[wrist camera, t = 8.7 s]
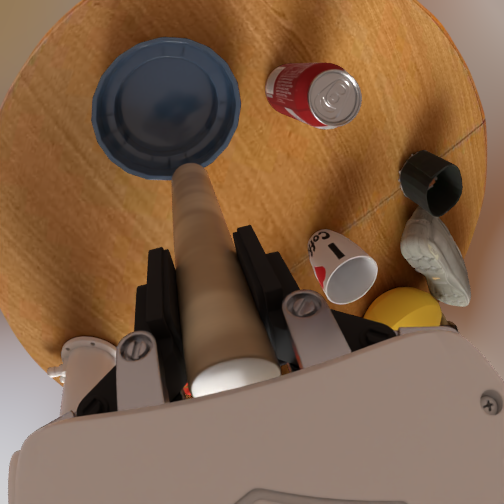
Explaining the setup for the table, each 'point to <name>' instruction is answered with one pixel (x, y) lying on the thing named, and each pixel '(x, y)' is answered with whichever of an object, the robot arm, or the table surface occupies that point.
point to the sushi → (431, 182)
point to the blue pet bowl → (165, 107)
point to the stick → (214, 294)
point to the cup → (341, 266)
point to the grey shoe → (436, 257)
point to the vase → (405, 309)
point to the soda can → (314, 94)
